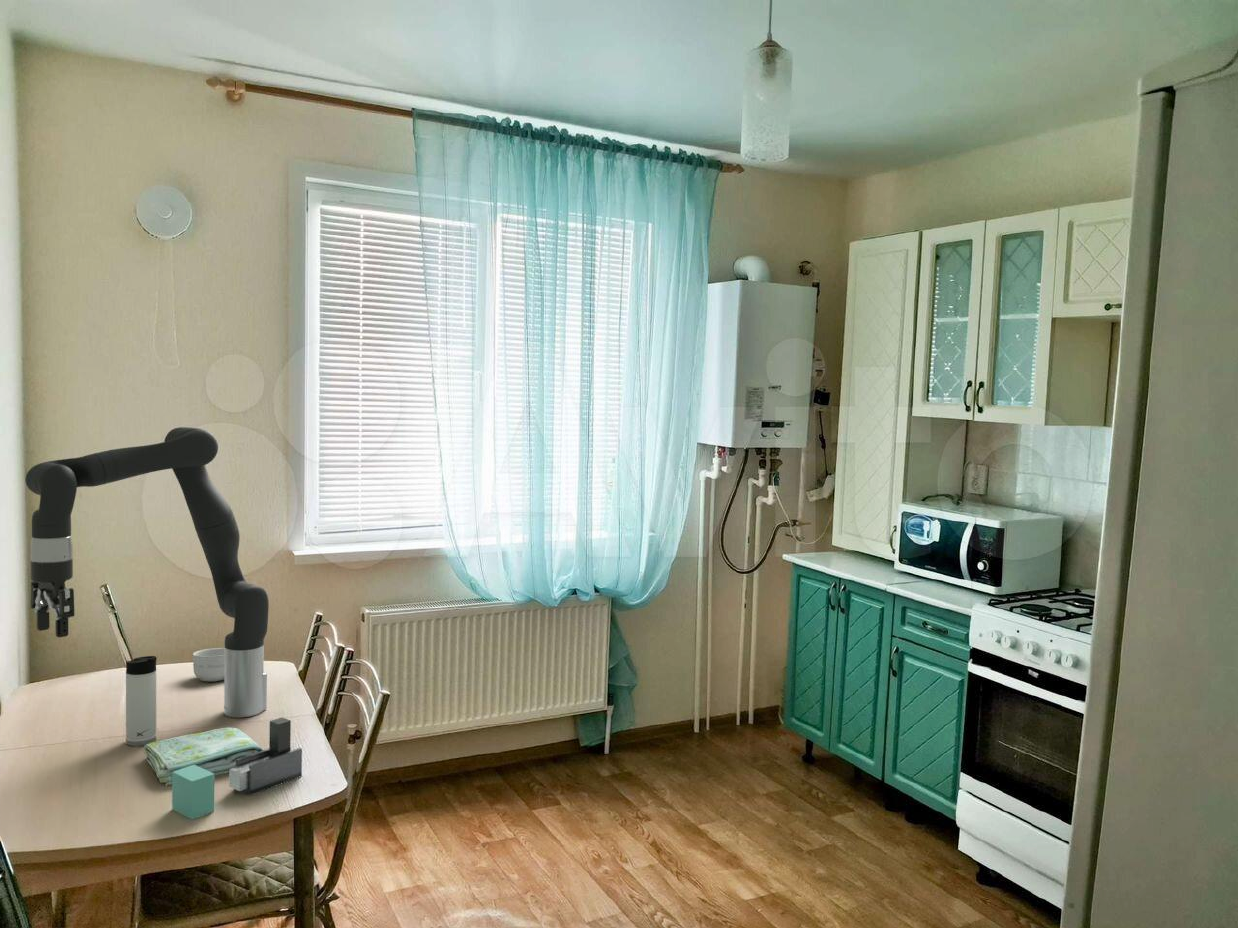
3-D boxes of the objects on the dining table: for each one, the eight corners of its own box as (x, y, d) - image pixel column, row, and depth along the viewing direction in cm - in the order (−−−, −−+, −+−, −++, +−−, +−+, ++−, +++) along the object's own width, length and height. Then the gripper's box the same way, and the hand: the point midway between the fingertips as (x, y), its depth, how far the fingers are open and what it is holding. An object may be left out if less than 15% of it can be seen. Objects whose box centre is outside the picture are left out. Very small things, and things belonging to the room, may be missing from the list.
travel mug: (144, 747, 204) (144, 661, 203) (119, 744, 205) (119, 659, 204) (163, 738, 210) (163, 654, 209) (139, 735, 211) (139, 652, 210)
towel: (140, 760, 198) (140, 737, 198) (240, 740, 211) (241, 719, 211) (159, 789, 184) (159, 765, 184) (265, 766, 197) (265, 743, 197)
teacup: (184, 682, 250) (184, 654, 250) (208, 671, 261) (208, 644, 260) (230, 687, 248) (230, 658, 248) (252, 675, 259) (252, 648, 258)
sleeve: (286, 769, 195) (286, 742, 195) (301, 776, 192) (301, 748, 192) (235, 787, 185) (235, 759, 185) (251, 795, 182) (251, 765, 182)
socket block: (194, 801, 179) (194, 764, 178) (214, 811, 175) (214, 773, 174) (172, 809, 175) (172, 771, 174) (192, 819, 171) (192, 781, 170)
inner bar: (288, 764, 194) (289, 714, 194) (299, 769, 192) (299, 718, 192) (229, 786, 183) (229, 732, 182) (239, 790, 181) (239, 736, 180)
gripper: (87, 559, 188) (87, 635, 189) (55, 551, 196) (55, 624, 197) (48, 564, 182) (48, 642, 183) (16, 555, 190) (17, 630, 191)
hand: (52, 633), depth 190 cm, fingers open, 8 cm apart
